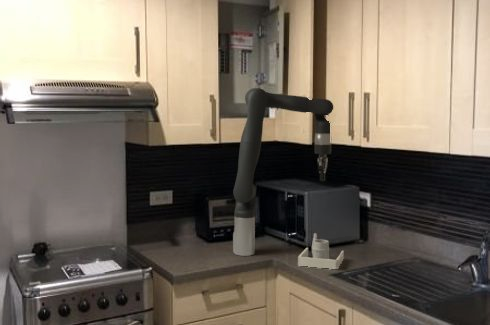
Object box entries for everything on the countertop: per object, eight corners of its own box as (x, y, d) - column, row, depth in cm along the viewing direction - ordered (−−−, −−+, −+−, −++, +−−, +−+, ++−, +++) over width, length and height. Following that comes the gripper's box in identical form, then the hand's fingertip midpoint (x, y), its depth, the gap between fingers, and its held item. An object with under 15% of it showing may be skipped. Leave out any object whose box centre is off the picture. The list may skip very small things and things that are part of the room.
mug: (316, 267, 226) (317, 238, 225) (304, 259, 237) (305, 232, 236) (333, 265, 228) (333, 237, 227) (320, 258, 239) (320, 231, 238)
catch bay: (306, 256, 242) (306, 247, 242) (343, 259, 237) (343, 250, 237) (297, 266, 227) (298, 256, 226) (337, 270, 221) (337, 260, 221)
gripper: (317, 142, 254) (317, 178, 256) (311, 143, 242) (311, 182, 243) (333, 142, 252) (333, 179, 253) (328, 144, 239) (327, 183, 241)
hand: (322, 180), depth 248 cm, fingers closed
